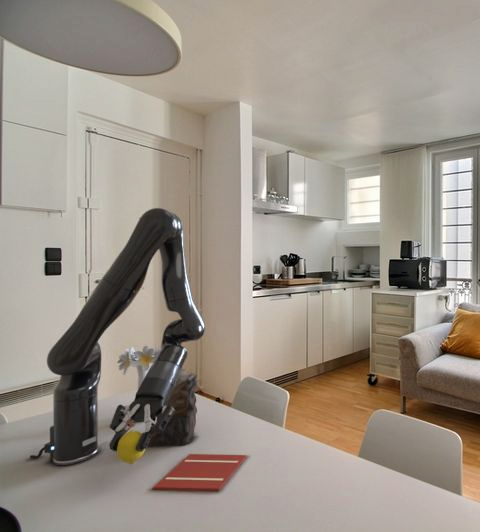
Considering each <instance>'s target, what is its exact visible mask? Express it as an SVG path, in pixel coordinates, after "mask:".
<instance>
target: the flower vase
mask: <svg viewBox="0 0 480 532" xmlns="http://www.w3.org/2000/svg"><path fill="white" fill-rule="evenodd" d="M160 349H161V348H158V346H157V345H155V349H154V348H152V347H151V348H150V347H149V346H148V345H144V346H143V348H142V350H141V351H140V350H135V348H134V346H131V347H129V348H126V349H125V351H124V354H123V353H122V354H120V355H118V358H119V360H118V361H117V362H116V363H117V364H119V365H118V371H123V375H124V376H125V375H126V373H127V371H128V370H129V368H130V367H132V368H136V370H137V390H138V389H139V387H140V385H141V383H142V381H143V379H144V378H145V376H146V374H147V372H148V370H149V369H150V367H151V366H152V364H153V363H154V361H155V359H156V357H157V355H158V353H159V352H160ZM134 400H135V398H134V399H133V401H134ZM129 412H130V411H128V414H129ZM128 414H127V415H128Z"/></svg>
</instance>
